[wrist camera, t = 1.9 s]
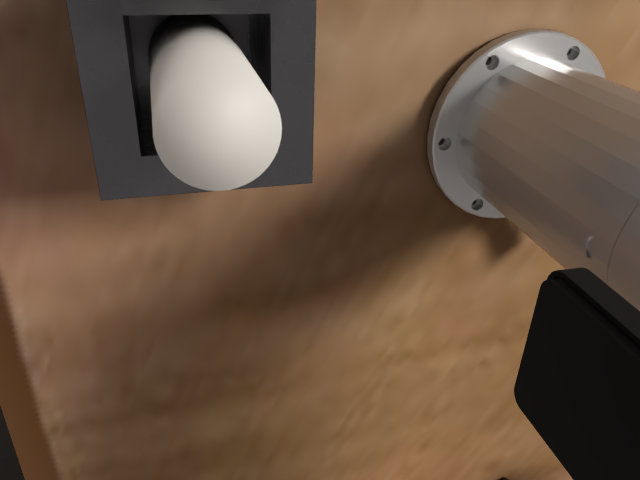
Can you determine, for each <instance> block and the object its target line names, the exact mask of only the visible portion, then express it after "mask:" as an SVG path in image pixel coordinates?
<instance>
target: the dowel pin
mask: <svg viewBox="0 0 640 480" xmlns="http://www.w3.org/2000/svg"><path fill="white" fill-rule="evenodd" d="M149 71H150V90H151V110H152V129H153V140H154V145H155V148H156V151H157V153H158V155H159V157H160V159H161V161H162V162H163V164H164V165H165V167H166V168H167V169H168V170H169V171H170V172H171V173H172V174H173V175H174V176H175V177H177V178H178V179H180V180H181V181H183V182H184V183H186V184H188V185H190V186H193V187H196V188H199V189H203V190H209V191H225V190H231V189H235V188H238V187H241V186H243V185H246V184H248V183H250V182H251V181H253V180H254V179H256V178H257V177H259V176H260V175H261V174H262V173H263V172H264V171H265V170H266V169H267V168H268V167H269V165H270V164H271V162H272V161H273V159H274V158H275V156H276V154H277V151H278V148H279V146H280V141H281V136H282V123H281V117H280V112H279V110H278V107H277V104H276V102H275V101H274V99H273V97H272V96H271V94H270V93H269V91H268V90H267V88H266V87H265V85H264V84H263V82H262V81H261V79H260V78H259V76H258V75H257V73H256V72H255V70H254V69H253V67H252V66H251V64H250V63H249V61H248V60H247V58H246V57H245V56H244V54H243V53H242V51H241V50H240V48H239V47H238V45H237V44H236V42H235V41H234V39H233V38H232V36H231V35H230V33H229V32H228V30H227V29H226V28H225V27H224V26H223V25H222V24H221V23H220V22H219V21H218V20H216V19H215V18H213V17H212V16H209V15H207V14H199V15H172V16H170V17H168V18H166V19H165V20H164V21H163V22H162V23H161V24H160V25H159V26H158V27H157V28H156V30H155V31H154V33H153V35H152V38H151V40H150V44H149Z"/></svg>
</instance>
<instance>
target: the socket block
mask: <svg viewBox="0 0 640 480" xmlns="http://www.w3.org/2000/svg"><path fill="white" fill-rule="evenodd" d="M66 2H67V8H68V14H69V19H70V25H71V31H72V36H73V42H74V48H75V54H76V59H77V65H78V71H79V77H80V82H81V88H82V94H83V100H84V105H85V111H86V117H87V123H88V128H89V134H90V140H91V146H92V151H93V157H94V163H95V168H96V174H97V180H98V186H99V191H100V197H101V200H113V199H125V198H137V197H149V196H161V195H173V194H185V193H197V192H209V190H203V189H199V188H196V187H193V186H190V185H188V184H186V183H184V182H183V181H181V180H180V179H178V178H177V177H175V176H174V175H173V174H172V173H171V172H170V171H169V170H168V169H167V168H166V167H165V165H164V164H163V162H162V161H161V159H160V157H159V155H158V153H157V151H156V148H155V145H154V140H153V129H152V110H151V90H150V71H149V44H150V40H151V38H152V35H153V33H154V31H155V30H156V28H157V27H158V26H159V25H160V24H161V23H162V22H163V21H164V20H165V19H166V18H168V17H170V16H172V15H199V14H207V15H209V16H212V17H213V18H215V19H216V20H218V21H219V22H220V23H221V24H222V25H223V26H224V27H225V28H226V29H227V30H228V32H229V33H230V35H231V36H232V38H233V39H234V41H235V42H236V44H237V45H238V47H239V48H240V50H241V51H242V53H243V54H244V56H245V57H246V58H247V60H248V61H249V63H250V64H251V66H252V67H253V69H254V70H255V72H256V73H257V75H258V76H259V78H260V79H261V81H262V82H263V84H264V85H265V87H266V88H267V90H268V91H269V93H270V94H271V96H272V97H273V99H274V101H275V102H276V104H277V107H278V110H279V112H280V117H281V123H282V136H281V141H280V146H279V148H278V151H277V154H276V156H275V158H274V159H273V161H272V162H271V164H270V165H269V167H268V168H267V169H266V170H265V171H264V172H263V173H262V174H261V175H260V176H259V177H257V178H256V179H254V180H253V181H251V182H250V183H248V184H246V185H243V186H241V187H238V188H235V189H245V188H257V187H269V186H281V185H293V184H305V183H312V170H313V126H314V81H315V37H316V0H66ZM231 190H233V189H231Z"/></svg>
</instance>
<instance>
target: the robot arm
mask: <svg viewBox="0 0 640 480" xmlns="http://www.w3.org/2000/svg"><path fill="white" fill-rule="evenodd" d="M487 59H488V61H487ZM486 61H487V62H486ZM440 140H441V141H440ZM439 141H440V142H439ZM427 155H428V160H429V165H430V170H431V172H432V175H433V177H434V179H435V182H436V184H437V185H438V186H439V188H440V189H441V190H442V192H443V193H444V194H445V196H446V197H448V198H449V199H450V200H451V201H452V202H453V203H454V204H455V205H456V206H458V207H459V208H461V209H463V210H464V211H466V212H467V213H470V214H473V215H476V216H479V217H484V218H493V219H498V218H507V219H508V220H510V221H511V222H512V223H513V224H514V225H515V226H517V227H518V228H519V229H520V230H521V231H522V232H524V233H525V234H526V235H527V236H528V237H529V238H530V239H532V240H533V241H534V242H535V243H536V244H537V245H539V246H540V247H541V248H542V249H543V250H544V251H546V252H547V253H548V254H549V255H550V256H551V257H552V258H554V259H555V260H556V261H557V262H558V263H559V264H561V265H562V266H563V267H564V268H565V270H557V271H554V272H552V273H551V274H550V275H549V276H548V278H547V280H545V281H544V282H543V283H542V285H541V287H540V291H539V294H538V298H537V302H536V306H535V310H534V314H533V318H532V321H531V325H530V329H529V333H528V337H527V341H526V345H525V348H524V352H523V356H522V360H521V364H520V368H519V372H518V375H517V379H516V383H515V388H514V395H515V399H516V402H517V404H518V406H519V408H520V409H521V410H522V412H523V413H524V414H525V416H526V417H527V418H528V420H529V421H530V422H531V424H532V425H533V426H534V428H535V429H536V430H537V432H538V433H539V434H540V436H541V437H542V438H543V440H544V441H545V442H546V444H547V445H548V446H549V448H550V449H551V450H552V452H553V453H554V454H555V456H556V457H557V458H558V460H559V461H560V462H561V464H562V465H563V466H564V468H565V469H566V470H567V471H568V473H569V474H570V475H571V477H572V478H573V479H574V480H640V92H639V91H636V90H634V89H631V88H629V87H626V86H623V85H621V84H618V83H615V82H613V81H610V80H608V79H606V76H605V73H604V71H603V68H602V66H601V64H600V62H599V60H598V58H597V57H596V56H595V55H594V53H593V52H592V51H591V50H590V48H589V47H587V46H586V45H585V44H583V43H582V42H581V41H579V40H578V39H576V38H574V37H571V36H569V35H566V34H564V33H561V32H557V31H553V30H548V29H526V30H521V31H516V32H512V33H509V34H507V35H504V36H502V37H500V38H497V39H495V40H493V41H491V42H490V43H488V44H487V45H485V46H484V47H482V48H481V49H479V50H477V51H476V52H475V53H474V54H473V55H472V56H471V57H469V58H468V59H467V60H466V61H465V62H464V63H463V64H462V65H461V66H460V67H459V68H458V70H457V71H456V72H455V73H454V75H453V76H452V77H451V78H450V80H449V81H448V82H447V84H446V86H445V88H444V89H443V91H442V93H441V95H440V97H439V98H438V100H437V103H436V106H435V108H434V111H433V114H432V116H431V120H430V125H429V131H428V136H427ZM0 480H25V479H24V476H23V473H22V470H21V467H20V464H19V461H18V458H17V455H16V452H15V449H14V446H13V443H12V440H11V437H10V434H9V431H8V428H7V425H6V422H5V419H4V416H3V413H2V410H1V407H0Z"/></svg>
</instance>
